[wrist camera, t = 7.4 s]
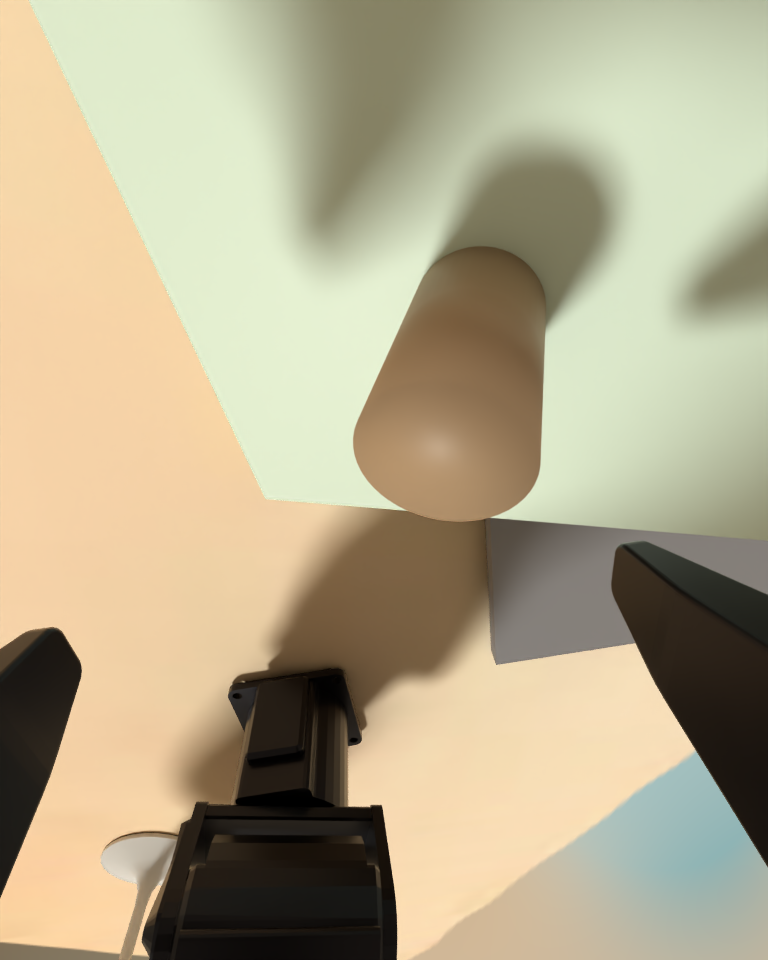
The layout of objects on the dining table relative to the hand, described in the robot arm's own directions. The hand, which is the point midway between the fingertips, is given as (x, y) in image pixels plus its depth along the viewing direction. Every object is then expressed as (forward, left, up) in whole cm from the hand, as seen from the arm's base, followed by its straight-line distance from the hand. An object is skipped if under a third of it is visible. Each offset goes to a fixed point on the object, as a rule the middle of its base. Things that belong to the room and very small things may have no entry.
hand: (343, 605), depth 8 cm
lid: (+4, -5, -8) cm, 10 cm away
